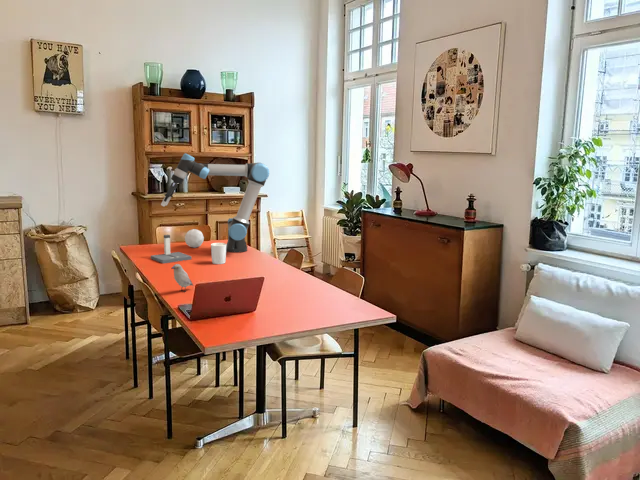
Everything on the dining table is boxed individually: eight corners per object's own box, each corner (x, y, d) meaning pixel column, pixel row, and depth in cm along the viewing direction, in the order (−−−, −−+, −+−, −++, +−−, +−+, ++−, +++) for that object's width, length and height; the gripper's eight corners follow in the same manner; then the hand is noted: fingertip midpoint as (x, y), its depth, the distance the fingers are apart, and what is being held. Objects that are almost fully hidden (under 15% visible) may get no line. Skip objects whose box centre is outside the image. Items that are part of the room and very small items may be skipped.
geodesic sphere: (181, 237, 391) (183, 224, 381) (200, 236, 396) (202, 223, 387) (185, 252, 382) (187, 239, 373) (204, 250, 388) (206, 238, 378)
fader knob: (168, 253, 352) (168, 234, 349) (170, 254, 350) (170, 235, 348) (164, 254, 350) (163, 235, 347) (166, 254, 348) (165, 235, 345)
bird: (168, 293, 272) (167, 264, 269) (190, 287, 282) (189, 260, 279) (174, 295, 269) (174, 266, 266) (196, 289, 279) (195, 261, 276)
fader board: (178, 254, 359) (178, 251, 359) (191, 259, 347) (191, 256, 347) (150, 258, 346) (150, 255, 346) (162, 263, 334) (162, 260, 333)
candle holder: (228, 261, 344) (228, 243, 342) (224, 264, 335) (224, 246, 332) (213, 260, 345) (213, 242, 343) (209, 264, 335) (208, 245, 333)
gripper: (175, 173, 358) (160, 201, 359) (171, 173, 334) (155, 203, 334) (185, 179, 360) (170, 207, 360) (182, 179, 336) (167, 209, 336)
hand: (163, 205), depth 347 cm, fingers open, 13 cm apart
